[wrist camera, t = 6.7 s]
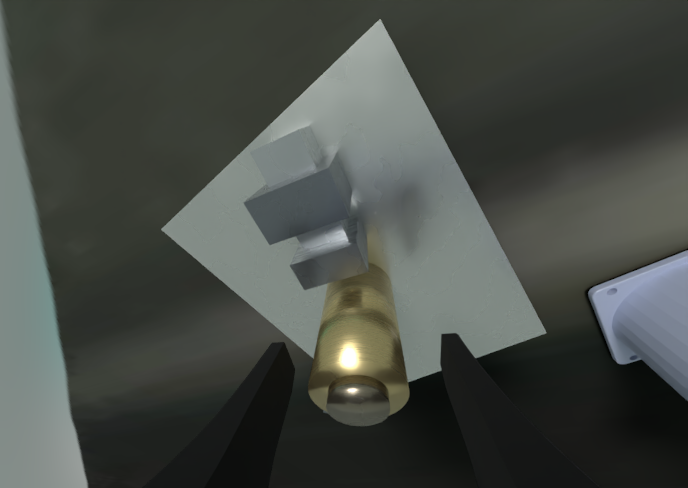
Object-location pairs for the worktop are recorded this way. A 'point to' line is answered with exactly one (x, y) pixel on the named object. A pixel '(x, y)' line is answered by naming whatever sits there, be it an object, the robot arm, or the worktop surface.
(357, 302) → the cylinder
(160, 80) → the worktop surface
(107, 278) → the worktop surface
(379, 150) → the shaft rig
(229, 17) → the worktop surface
